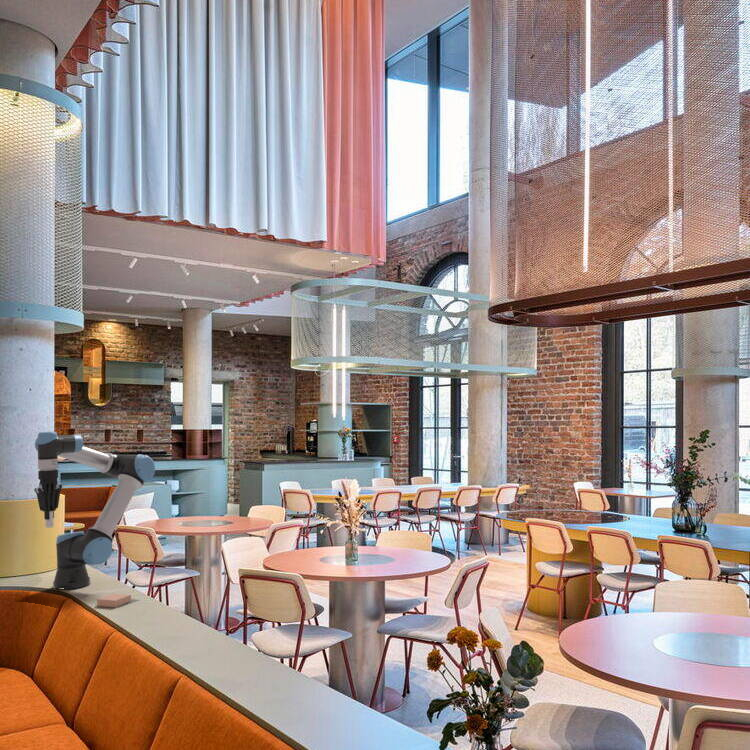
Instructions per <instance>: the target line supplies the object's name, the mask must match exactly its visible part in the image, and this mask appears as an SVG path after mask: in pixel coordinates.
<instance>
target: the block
mask: <svg viewBox="0 0 750 750" xmlns="http://www.w3.org/2000/svg"><path fill="white" fill-rule="evenodd" d="M131 599H132V595H131V594H126V593H125V594H124V593H110V594H108V595H105V596H102V597H99V598H97V599H96V605H97V606H96V607H106V608H114V609H115V608H116V607H118V606H121V605H124V604H126V603H129V602H131Z"/></svg>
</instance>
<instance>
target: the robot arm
mask: <svg viewBox="0 0 750 750" xmlns="http://www.w3.org/2000/svg"><path fill="white" fill-rule="evenodd" d="M34 448H35V450H36V451H37V469H38V472H37V474H38V476H37V479H38V480H39V484H38V486H37V487H35V488H34V492H35V494H36V497H37V502H38V507H39V510H40V511H41V512H43V513H44V520H45V528H54V518H55V511H57V509H58V508H59V504H60V495H61V491H62V488H63V484H59V483H58V478H59V470H58V468H59V466H58V465H59V464H58V463H59V462H58V458H63V459H66V460H68V461H72V462H75V463H77V464H81V465H84V466H88V467H90V468H94V469H96V470H98V471H99V472H100V473H102V474H104V475H108V476H111V477H113V478H117V479H118V482H117V484H116V486H115V488H114V490H113V491H112V492H111V495H110V497H109V498H108V500H107V502H106V504H105V505H104V508H103V510H102V511H101V513H100V514H99V516H98V518H97V520H96V522H95V524H93V526H91V527H88V529H87V530H86V531H83V530H82V531H73V532H67V533H62V534H59V535H57V537H56V543H55V546H56V572H55V576H54V580H53V583H52V584H53V587H55V588H64V590H71V589H70V588H75V589H79V588H78V587H81V588H84V586H85V587H87V586H89V585H90V584H91V578H90V576H89V573H88V569H87V567H86V565H90V566H95V565H96V566H97V565H98V566H99V565H102V564H104V563H106V562H107V561H108V560H109V559H110V557H111V556H112V553H113V543H112V542H113V541H114V539H113V536H112V535H113V533H114V532H115V530H116V528H117V525H118V524H119V522H120V521H121V519H122V517H123V515H124V513H125V511H126V510H127V507H128V506H129V504H130V502H131V500H132V499H133V497H134V495H135V494H136V491H137V490H139V489H142V487H143V485H144V483H145V482H147V481H150V480H152V479H153V477H154V476H155V472H156V466H155V462H154V460H153V458H151V457H150V456H149V455H147V454H140V453H139V454H117V453H110V452H101V451H98V450H95V449H93V448H89V447H86V446H84V440H83V437H82V436H81V435H79V434H60V435H59V434H58V433H57V432H56V431H41V432H39V433H37V438H36V440H35V442H34Z"/></svg>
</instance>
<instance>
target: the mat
mask: <svg viewBox="0 0 750 750" xmlns="http://www.w3.org/2000/svg"><path fill="white" fill-rule="evenodd" d="M139 601H140V599H137V598H136V599H134V598H131V602H129V603H126V604H124V605H121V606H118V607H116V608H117V609H118V608H123V607H125V606H127V605H131V604H133V603H135V602H139ZM94 606H95V607H98V606H97V604H96V605H94Z"/></svg>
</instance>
